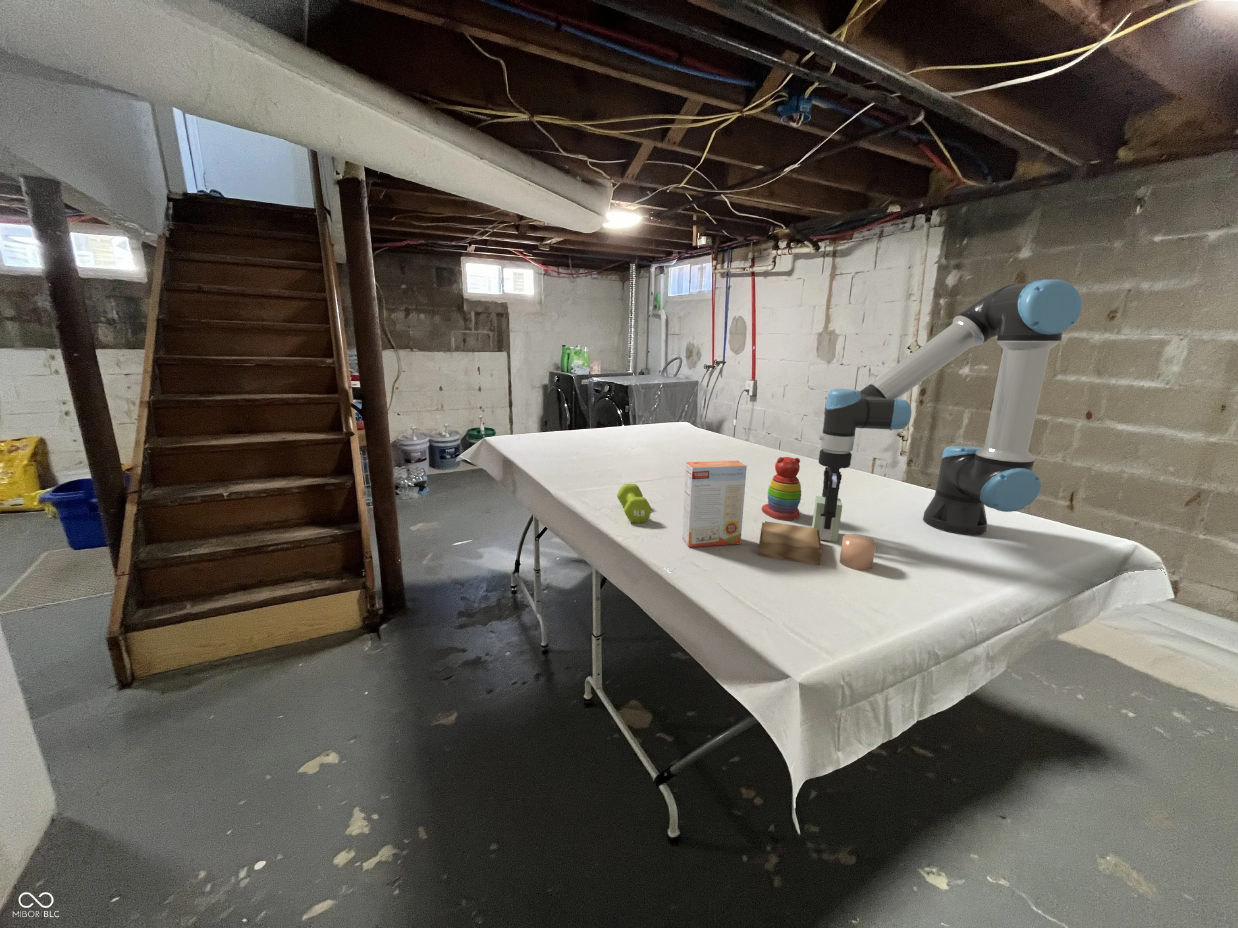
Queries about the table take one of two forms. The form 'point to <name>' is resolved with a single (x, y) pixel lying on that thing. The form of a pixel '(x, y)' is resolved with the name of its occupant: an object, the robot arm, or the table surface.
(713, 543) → the cracker box
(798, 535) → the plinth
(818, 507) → the sage block
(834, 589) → the table surface
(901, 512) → the table surface
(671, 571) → the table surface
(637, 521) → the dumbbell
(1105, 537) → the table surface
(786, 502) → the stacking bear
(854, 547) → the peach rounded cylinder
